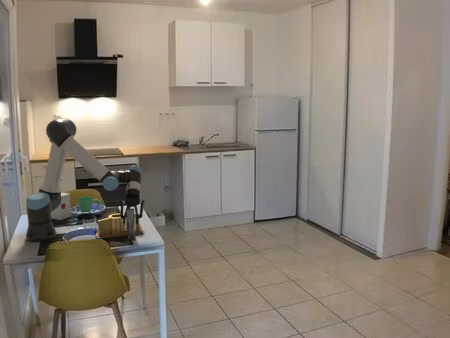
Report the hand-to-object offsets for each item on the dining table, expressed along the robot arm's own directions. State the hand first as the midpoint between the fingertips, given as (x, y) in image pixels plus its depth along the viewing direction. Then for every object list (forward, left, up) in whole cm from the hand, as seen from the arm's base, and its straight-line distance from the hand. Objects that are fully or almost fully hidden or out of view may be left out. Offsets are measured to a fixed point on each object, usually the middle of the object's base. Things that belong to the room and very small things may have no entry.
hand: (130, 229), depth 220 cm
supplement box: (-36, +59, -7) cm, 69 cm away
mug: (-19, +62, -7) cm, 65 cm away
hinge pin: (+1, +4, -6) cm, 7 cm away
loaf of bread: (-5, +18, -7) cm, 19 cm away
